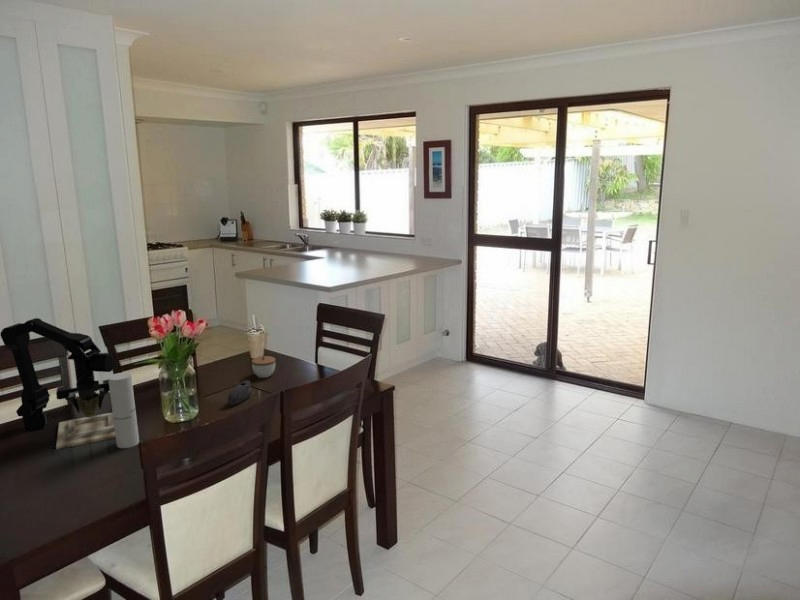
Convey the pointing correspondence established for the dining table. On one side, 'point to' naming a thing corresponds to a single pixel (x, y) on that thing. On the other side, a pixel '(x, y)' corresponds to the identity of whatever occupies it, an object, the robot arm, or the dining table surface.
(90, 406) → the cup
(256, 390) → the dining table surface
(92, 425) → the docking plate
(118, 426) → the cylindrical container
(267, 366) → the lidded jar
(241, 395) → the perforated stone tool
